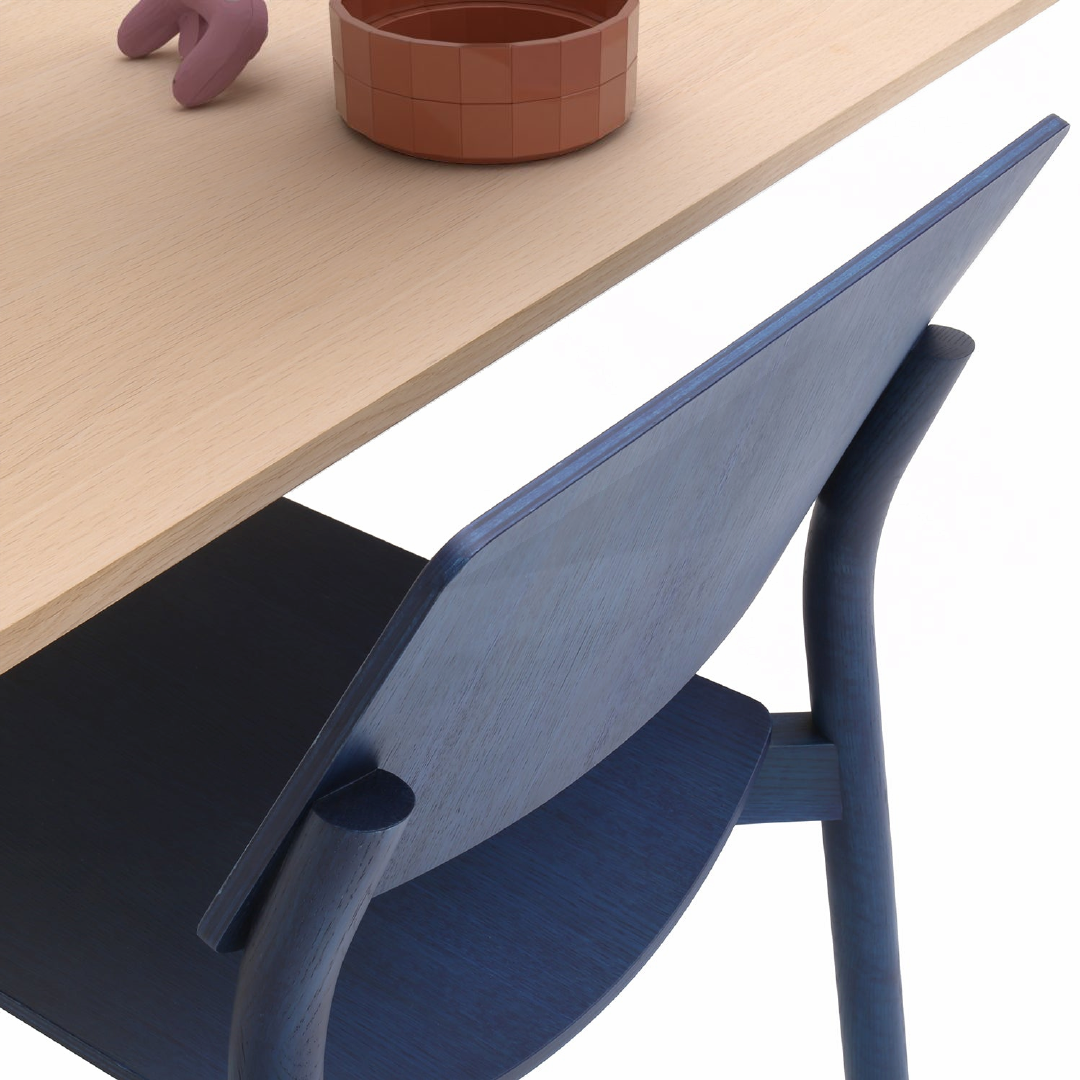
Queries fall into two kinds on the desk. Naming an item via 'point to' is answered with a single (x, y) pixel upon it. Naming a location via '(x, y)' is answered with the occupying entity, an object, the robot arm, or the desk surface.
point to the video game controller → (198, 40)
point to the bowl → (484, 75)
